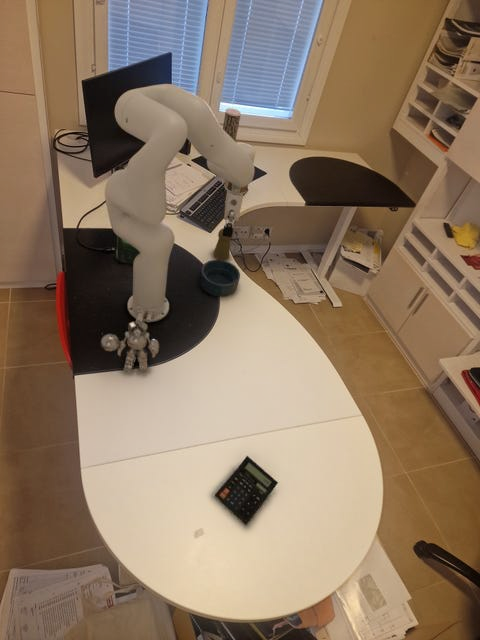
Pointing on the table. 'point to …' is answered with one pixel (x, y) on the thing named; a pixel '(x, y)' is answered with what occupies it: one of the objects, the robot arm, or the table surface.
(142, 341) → the robot toy
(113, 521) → the table surface
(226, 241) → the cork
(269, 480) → the calculator
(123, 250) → the coffee jar
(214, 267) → the bowl
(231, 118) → the paper tube
